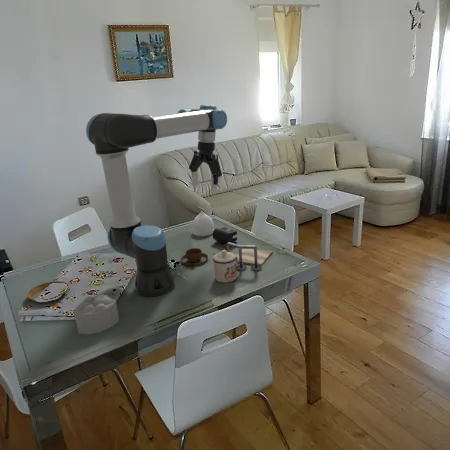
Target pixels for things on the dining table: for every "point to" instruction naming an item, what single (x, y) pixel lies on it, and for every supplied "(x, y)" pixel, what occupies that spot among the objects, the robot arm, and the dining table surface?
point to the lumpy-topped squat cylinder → (96, 314)
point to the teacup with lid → (225, 266)
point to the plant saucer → (40, 288)
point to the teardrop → (203, 225)
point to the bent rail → (241, 267)
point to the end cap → (224, 235)
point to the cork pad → (249, 256)
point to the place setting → (195, 257)
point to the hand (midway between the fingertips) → (203, 188)
